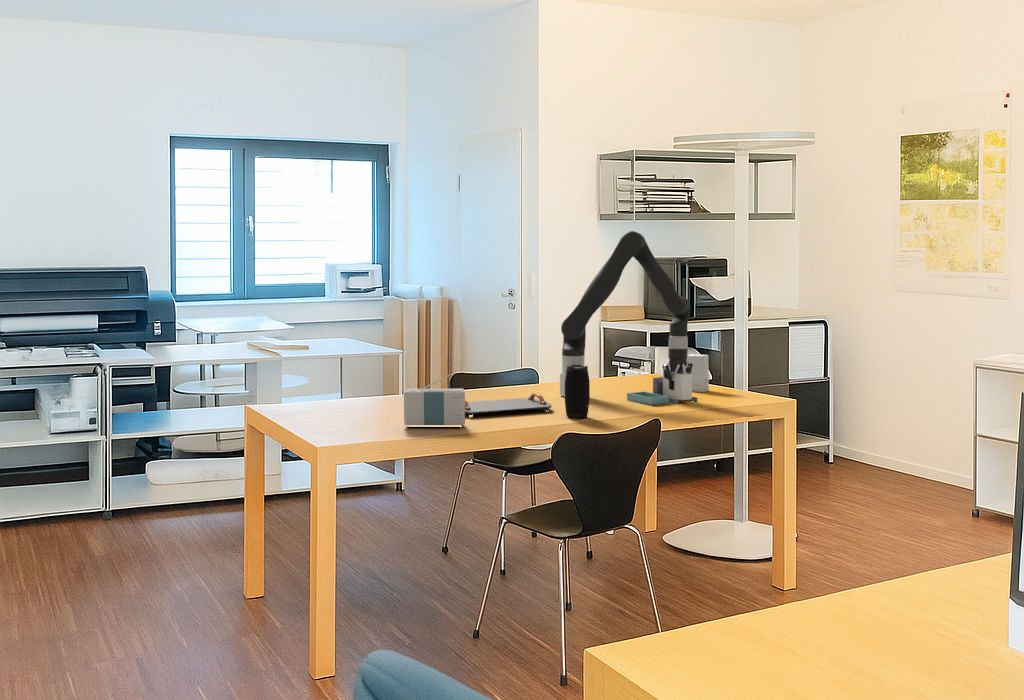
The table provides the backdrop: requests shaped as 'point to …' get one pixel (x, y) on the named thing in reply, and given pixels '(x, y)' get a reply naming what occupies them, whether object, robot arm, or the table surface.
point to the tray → (648, 398)
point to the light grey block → (679, 386)
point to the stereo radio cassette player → (434, 406)
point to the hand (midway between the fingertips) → (677, 389)
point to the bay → (659, 390)
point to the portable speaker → (577, 391)
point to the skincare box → (699, 372)
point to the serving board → (507, 405)
